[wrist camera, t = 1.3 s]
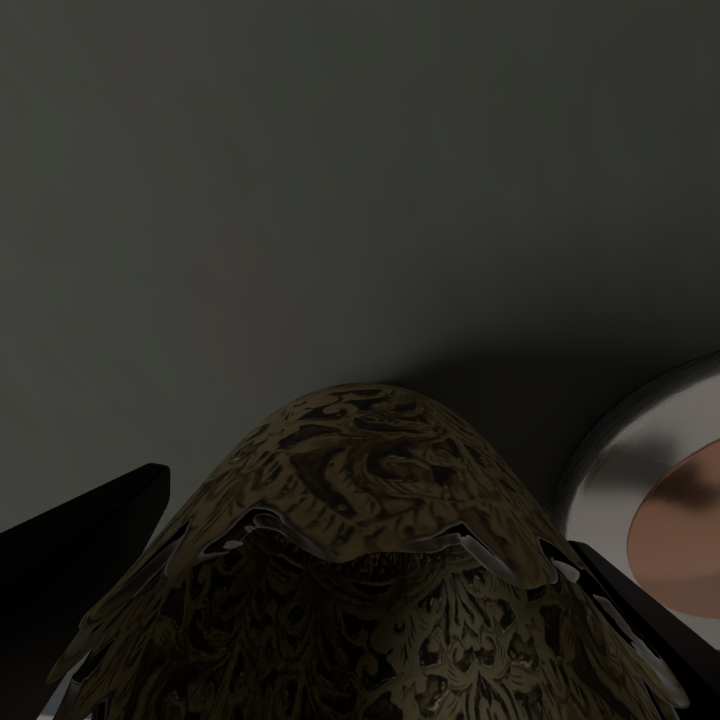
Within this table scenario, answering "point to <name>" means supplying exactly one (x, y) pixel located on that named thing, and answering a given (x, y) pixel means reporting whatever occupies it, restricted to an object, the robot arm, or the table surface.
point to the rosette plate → (655, 492)
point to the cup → (362, 588)
